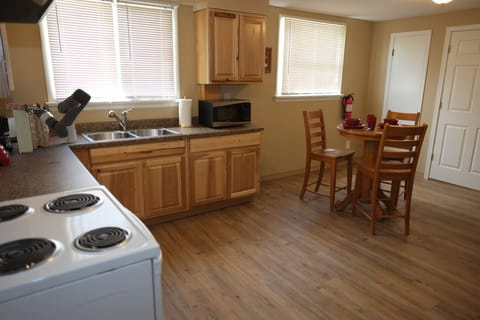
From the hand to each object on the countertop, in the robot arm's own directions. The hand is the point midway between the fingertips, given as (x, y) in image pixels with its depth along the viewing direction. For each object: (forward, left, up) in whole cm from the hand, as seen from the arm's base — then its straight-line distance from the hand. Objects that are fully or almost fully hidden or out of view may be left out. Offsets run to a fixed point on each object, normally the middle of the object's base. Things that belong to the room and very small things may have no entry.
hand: (30, 104), depth 223 cm
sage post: (-3, -13, -34) cm, 37 cm away
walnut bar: (-3, -13, -4) cm, 14 cm away
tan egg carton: (-19, -20, -34) cm, 44 cm away
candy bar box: (-38, -30, -34) cm, 60 cm away
